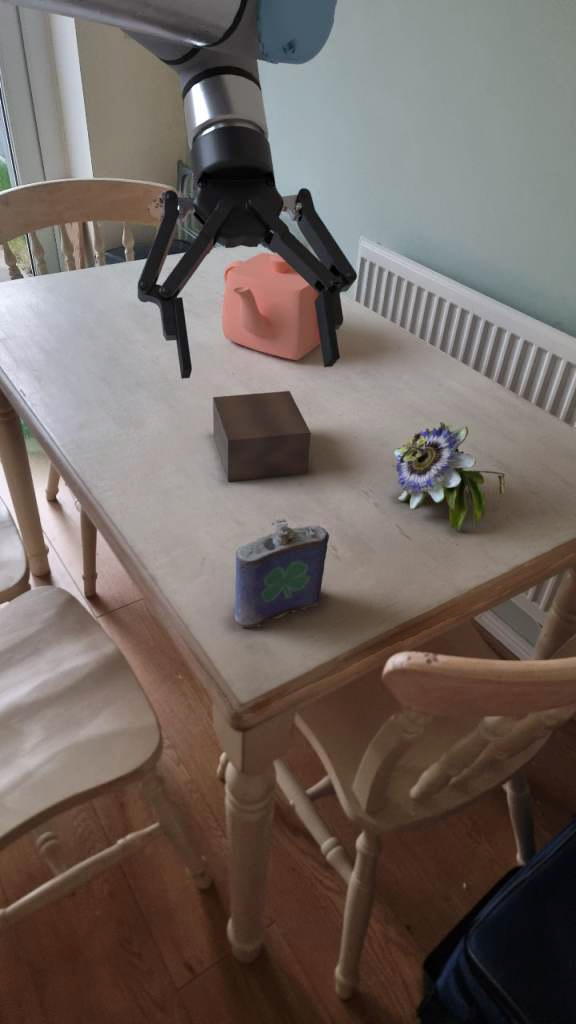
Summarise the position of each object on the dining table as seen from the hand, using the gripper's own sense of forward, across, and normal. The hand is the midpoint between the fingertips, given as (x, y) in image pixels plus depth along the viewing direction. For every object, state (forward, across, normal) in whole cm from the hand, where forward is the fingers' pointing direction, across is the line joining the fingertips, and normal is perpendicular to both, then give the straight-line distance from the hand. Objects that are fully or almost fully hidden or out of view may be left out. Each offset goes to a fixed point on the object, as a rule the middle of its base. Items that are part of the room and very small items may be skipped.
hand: (261, 368), depth 63 cm
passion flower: (+13, -23, -16) cm, 31 cm away
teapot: (-16, -12, -46) cm, 50 cm away
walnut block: (+4, -4, -25) cm, 26 cm away
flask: (+22, 0, -7) cm, 23 cm away
